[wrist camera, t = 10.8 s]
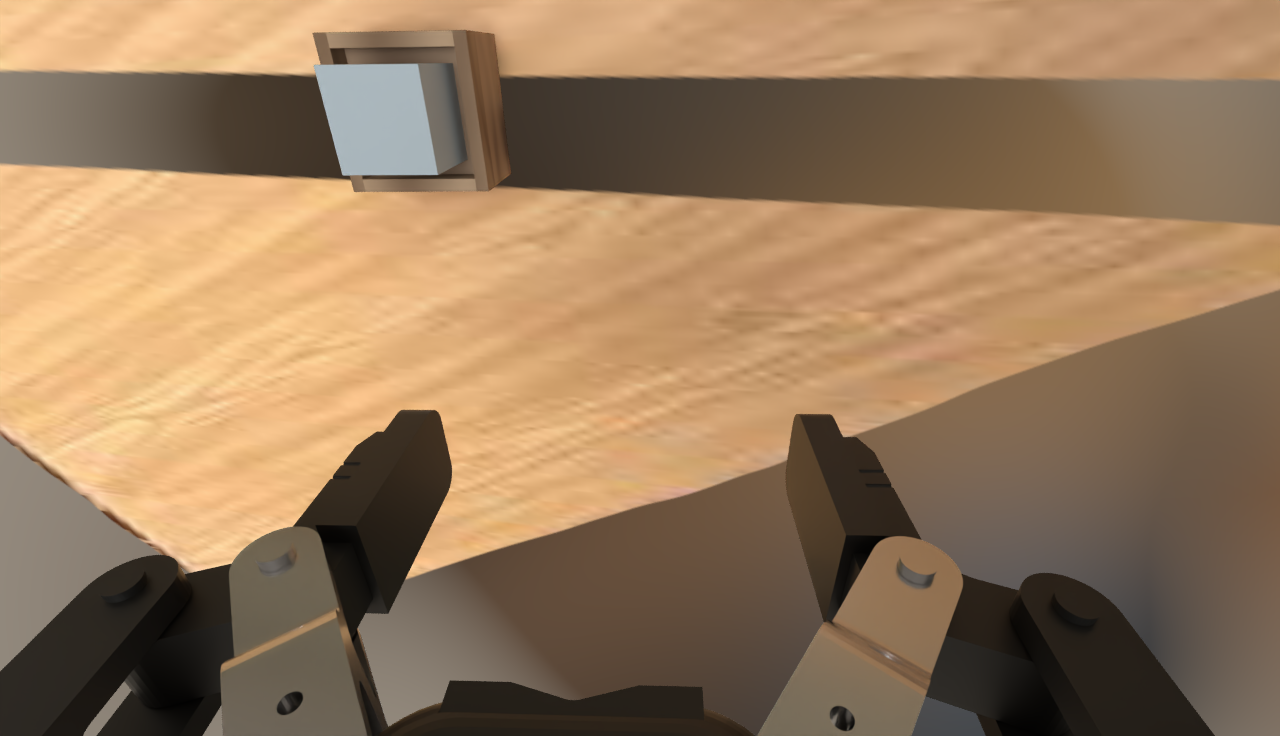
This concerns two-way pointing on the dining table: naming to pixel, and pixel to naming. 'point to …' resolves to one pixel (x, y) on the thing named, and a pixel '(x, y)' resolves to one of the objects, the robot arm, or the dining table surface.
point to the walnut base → (475, 97)
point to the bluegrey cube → (393, 117)
